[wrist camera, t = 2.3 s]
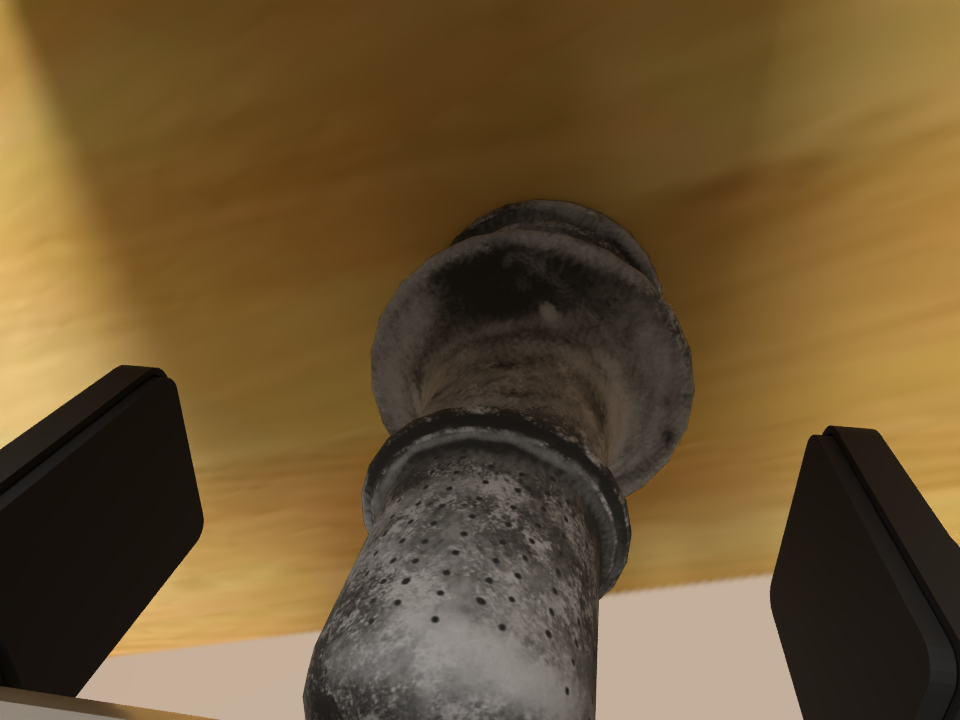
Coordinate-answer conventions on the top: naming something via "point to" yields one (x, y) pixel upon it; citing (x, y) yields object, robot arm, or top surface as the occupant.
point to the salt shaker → (504, 471)
